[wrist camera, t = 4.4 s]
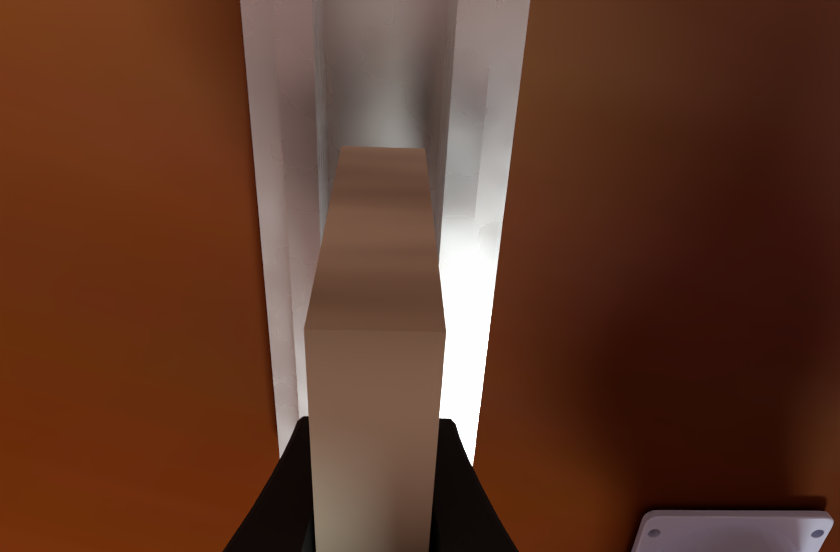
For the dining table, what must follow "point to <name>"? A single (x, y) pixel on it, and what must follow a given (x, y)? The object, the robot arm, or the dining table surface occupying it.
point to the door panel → (375, 356)
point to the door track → (383, 127)
